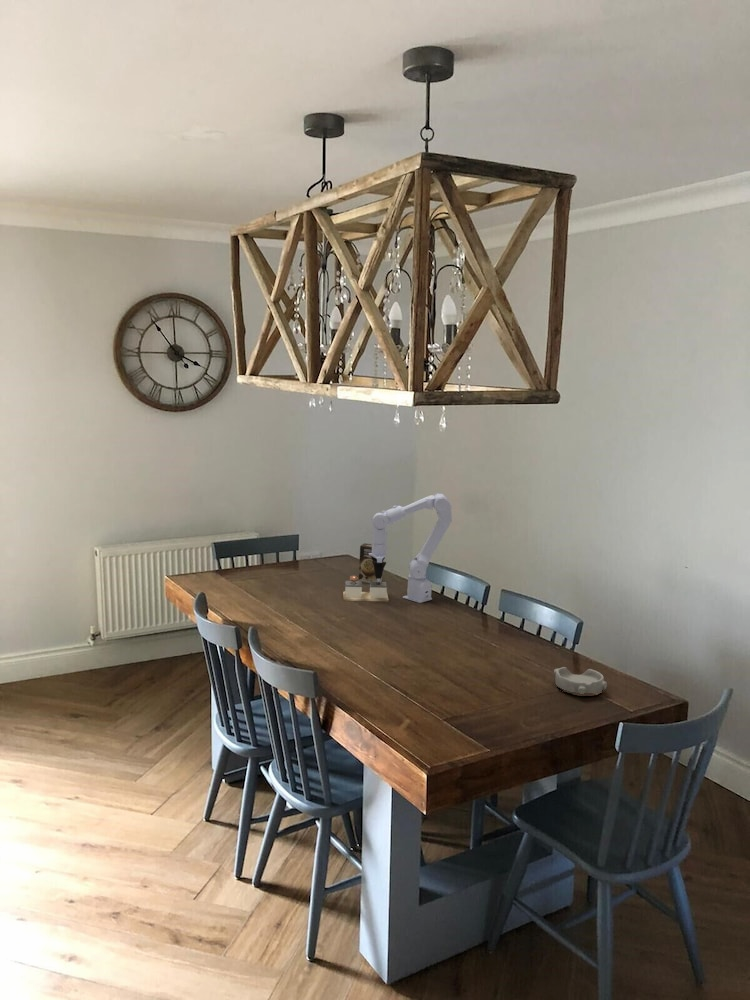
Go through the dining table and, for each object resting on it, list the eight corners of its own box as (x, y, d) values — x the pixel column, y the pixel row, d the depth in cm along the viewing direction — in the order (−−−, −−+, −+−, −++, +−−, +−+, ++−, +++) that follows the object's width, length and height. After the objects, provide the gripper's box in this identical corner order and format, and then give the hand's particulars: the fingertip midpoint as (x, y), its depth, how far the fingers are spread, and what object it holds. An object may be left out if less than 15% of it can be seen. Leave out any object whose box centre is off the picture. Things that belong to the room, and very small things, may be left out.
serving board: (386, 594, 334) (387, 592, 333) (388, 601, 324) (388, 599, 324) (343, 593, 333) (343, 591, 332) (343, 600, 323) (343, 598, 323)
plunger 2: (382, 585, 329) (382, 570, 328) (382, 587, 326) (383, 572, 325) (374, 585, 329) (374, 570, 328) (374, 587, 326) (375, 572, 325)
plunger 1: (357, 590, 329) (357, 575, 328) (357, 592, 326) (358, 577, 325) (349, 590, 329) (349, 575, 328) (349, 592, 326) (350, 577, 325)
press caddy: (385, 593, 332) (386, 581, 331) (386, 598, 325) (387, 586, 324) (345, 592, 331) (345, 580, 330) (345, 597, 324) (345, 585, 323)
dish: (547, 682, 247) (548, 666, 246) (588, 679, 250) (590, 664, 249) (569, 701, 233) (570, 685, 232) (612, 698, 236) (614, 682, 235)
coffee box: (358, 582, 351) (359, 545, 348) (362, 578, 357) (363, 542, 354) (378, 584, 348) (379, 547, 346) (382, 580, 354) (383, 544, 352)
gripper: (368, 538, 332) (367, 571, 334) (369, 546, 317) (368, 580, 319) (385, 539, 332) (384, 571, 334) (387, 547, 318) (386, 580, 320)
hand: (377, 575), depth 327 cm, fingers open, 7 cm apart
